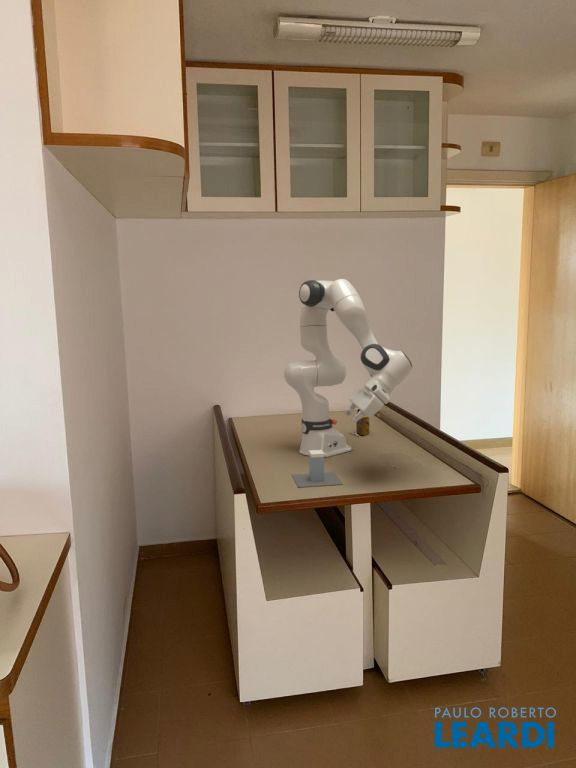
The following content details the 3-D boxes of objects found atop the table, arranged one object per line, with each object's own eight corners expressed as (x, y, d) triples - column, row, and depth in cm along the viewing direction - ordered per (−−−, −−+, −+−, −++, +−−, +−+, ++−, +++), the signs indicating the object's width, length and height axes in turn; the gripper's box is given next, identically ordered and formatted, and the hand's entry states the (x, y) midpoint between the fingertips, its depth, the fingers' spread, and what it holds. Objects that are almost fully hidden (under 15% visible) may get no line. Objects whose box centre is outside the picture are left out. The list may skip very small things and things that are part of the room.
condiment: (372, 434, 276) (373, 409, 274) (357, 437, 272) (357, 411, 270) (364, 431, 283) (364, 407, 281) (349, 433, 279) (349, 409, 277)
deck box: (321, 476, 215) (321, 449, 213) (324, 480, 210) (324, 453, 208) (309, 477, 214) (308, 450, 212) (311, 481, 209) (311, 454, 207)
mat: (334, 472, 220) (334, 471, 220) (343, 484, 206) (343, 483, 206) (291, 475, 217) (291, 474, 217) (298, 487, 204) (298, 486, 204)
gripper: (362, 378, 219) (336, 405, 219) (379, 389, 199) (350, 419, 200) (373, 390, 221) (348, 416, 221) (391, 401, 201) (363, 431, 201)
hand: (349, 417), depth 210 cm, fingers open, 8 cm apart
